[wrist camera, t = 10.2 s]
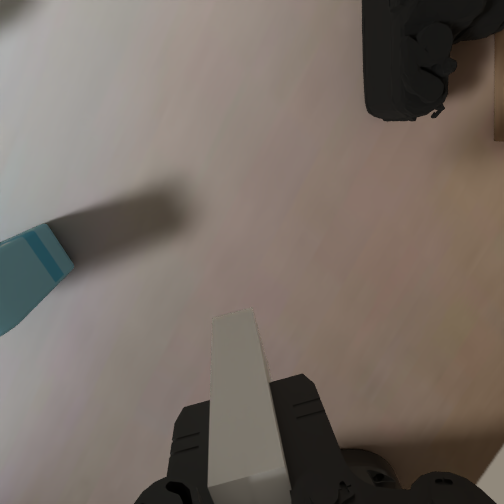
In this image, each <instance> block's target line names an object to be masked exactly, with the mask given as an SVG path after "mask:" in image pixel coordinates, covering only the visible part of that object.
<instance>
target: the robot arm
mask: <svg viewBox="0 0 504 504" xmlns="http://www.w3.org/2000/svg"><path fill="white" fill-rule="evenodd" d="M172 440H173V443H172V445H171V451H170V455H171V457H170V458H169V465H168V471H167V477H165V478H163V479H160V480H158V481H156V482H154V483H153V484H152V485H151V486H149V487H148V488H147V489H146V490H144V491H143V492H142V494H141V495H140V496H139V498H138V499H137V500H136V502H135V503H134V504H496V503H495V502H494V501H493V500H492V499H491V498H490V497H489V496H488V495H487V494H486V493H485V492H483V491H482V490H481V489H480V488H479V487H477V486H476V485H475V484H473V483H472V482H470V481H469V480H468V479H466V478H464V477H461V476H458V475H455V474H453V473H450V472H431V473H428V474H425V475H422V476H420V477H419V478H418V479H417V480H416V481H415V482H414V483H413V484H412V486H411V489H410V490H404V489H402V487H401V485H400V483H399V481H398V479H397V477H396V475H395V473H394V471H393V469H392V467H391V466H390V464H389V463H388V462H387V461H386V460H384V459H383V458H382V457H380V456H378V455H376V454H374V453H371V452H368V451H363V450H353V449H352V450H340V448H339V445H338V443H337V440H336V438H335V435H334V433H333V430H332V427H331V425H330V422H329V420H328V417H327V415H326V413H325V410H324V407H323V405H322V402H321V400H320V397H319V394H318V392H317V389H316V387H315V384H314V383H313V382H312V381H311V380H309V379H308V378H307V377H306V376H305V375H304V374H299V375H296V376H292V377H288V378H285V379H281V380H277V381H274V382H272V379H271V374H270V370H269V366H268V362H267V359H266V355H265V352H264V348H263V344H262V341H261V337H260V334H259V330H258V327H257V323H256V319H255V316H254V312H253V309H252V307H251V308H247V309H244V310H240V311H236V312H233V313H229V314H225V315H222V316H218V317H214V318H212V347H211V383H210V400H209V401H205V402H201V403H198V404H194V405H190V406H187V407H184V408H183V410H182V411H181V413H180V415H179V416H178V418H177V420H176V422H175V424H174V431H173V438H172Z"/></svg>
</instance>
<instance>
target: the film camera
mask: <svg viewBox="0 0 504 504" xmlns="http://www.w3.org/2000/svg"><path fill="white" fill-rule="evenodd" d="M503 29H504V0H362V37H363V77H364V94H365V104H366V109H367V111H368V113H369V114H371V115H373V116H374V117H377V118H381V119H383V121H408V120H409V121H416V118H417V117H420V116H424V115H427V114H428V113H429V112H431V111H432V110H434V109H435V110H437V112H436V113H435V112H434V113H433V114H432V116H431V118H436V117H437V116H438V115H439V114H440V113H441V111H443V110H444V109H445V107H444V106H443V102H444V101H445V99H446V97H447V94H448V76H449V74H450V73H452V72H454V71H455V69H456V67H457V62H456V61H455V60H453V59H451V58H450V51H451V48H452V44H456V43H458V42H460V41H467V40H477V39H481V38H485V37H487V36H489V35H490V34H494V33H497V32H499V31H502V30H503Z"/></svg>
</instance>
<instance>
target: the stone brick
mask: <svg viewBox="0 0 504 504" xmlns="http://www.w3.org/2000/svg"><path fill="white" fill-rule="evenodd" d="M494 141H504V29H503V30H502V31H499V32H497V33H495V88H494Z"/></svg>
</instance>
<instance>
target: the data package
mask: <svg viewBox="0 0 504 504" xmlns="http://www.w3.org/2000/svg"><path fill="white" fill-rule="evenodd" d="M73 268H74V264H73V263H72V261H71V260H70V258H69V257H68V255H67V254H66V252H65V251H64V249H63V247H62V246H61V244H60V243H59V241H58V240H57V238H56V237H55V235H54V234H53V232H52V231H51V229H50V228H49V226H48V225H47V224H41V225H38V226H36V227H34V228H32V229H29V230H27V231H25V232H23V233H20V234H18V235H16V236H14V237H11V238H9V239H7V240H4V241H2V242H0V336H2V335H4V334H5V333H7V332H8V331H10V330H11V329H12V328H14V327H15V326H16V325H18V324H19V323H20V322H21V321H22V320H23V319H24V318H25V317H26V316H27V315H28V314H29V313H30V312H31V311H32V310H33V309H34V308H35V307H36V306H37V305H38V304H39V303H40V302H41V301H42V300H43V299H44V298H45V297H46V296H47V295H48V294H49V293H50V292H51V291H52V290H53V289H54V288H55V287H56V286H57V285H58V284H59V283H60V282H61V281H62V280H63V279H64V278H65V277H66V276H67V275H68V274H69V273H70V272H71V271H72V270H73Z"/></svg>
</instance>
